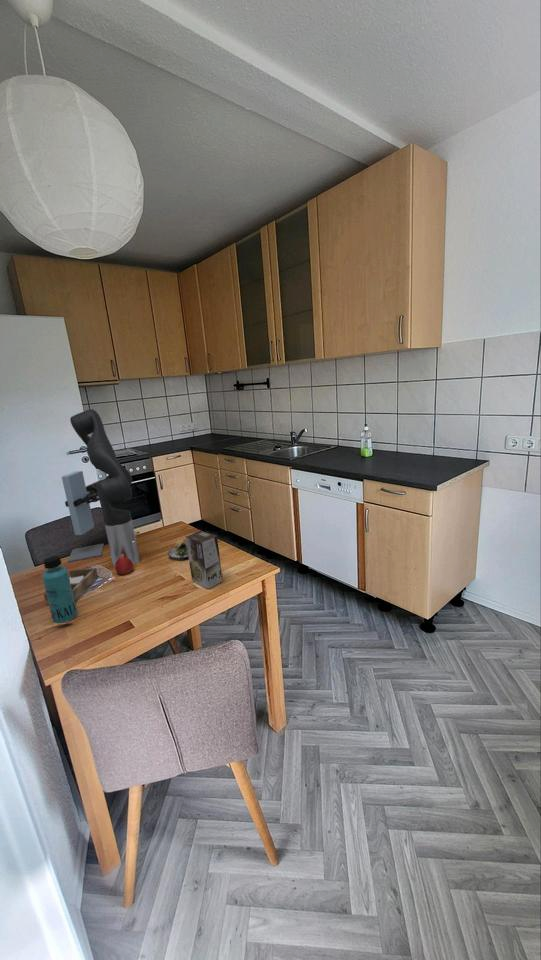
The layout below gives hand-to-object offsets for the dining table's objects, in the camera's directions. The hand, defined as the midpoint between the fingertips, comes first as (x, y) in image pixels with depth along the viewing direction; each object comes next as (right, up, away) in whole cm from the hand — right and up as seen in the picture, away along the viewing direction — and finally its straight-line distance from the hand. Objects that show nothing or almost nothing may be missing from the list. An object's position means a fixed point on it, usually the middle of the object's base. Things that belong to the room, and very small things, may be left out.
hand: (70, 504), depth 147 cm
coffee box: (+56, -24, -21) cm, 65 cm away
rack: (+13, -28, -23) cm, 38 cm away
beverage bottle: (+18, -31, -37) cm, 52 cm away
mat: (+2, -20, +8) cm, 22 cm away
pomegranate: (+26, -24, -13) cm, 38 cm away
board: (+2, -11, +8) cm, 14 cm away
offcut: (+12, -26, -20) cm, 35 cm away
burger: (+44, -20, 0) cm, 48 cm away
